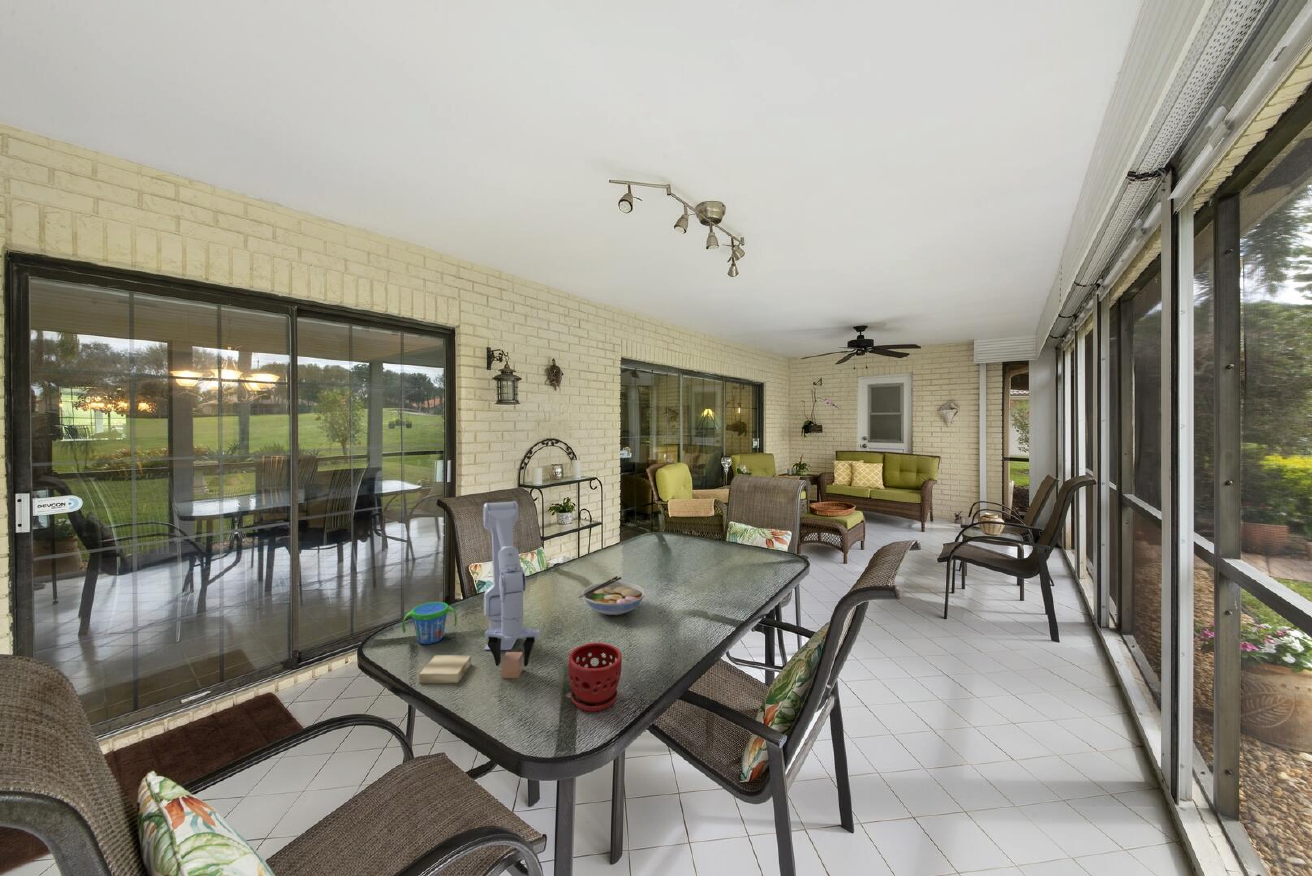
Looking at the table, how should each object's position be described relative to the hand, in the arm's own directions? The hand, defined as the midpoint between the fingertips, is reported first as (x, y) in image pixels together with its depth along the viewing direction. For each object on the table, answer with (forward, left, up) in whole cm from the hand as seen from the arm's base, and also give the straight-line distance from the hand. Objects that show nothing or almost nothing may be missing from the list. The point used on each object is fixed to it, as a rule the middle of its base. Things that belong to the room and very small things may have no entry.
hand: (512, 664), depth 134 cm
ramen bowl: (-43, +25, -3) cm, 50 cm away
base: (0, -18, -3) cm, 18 cm away
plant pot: (+13, +24, -3) cm, 27 cm away
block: (0, 0, -3) cm, 3 cm away
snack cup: (-20, -31, -3) cm, 37 cm away
